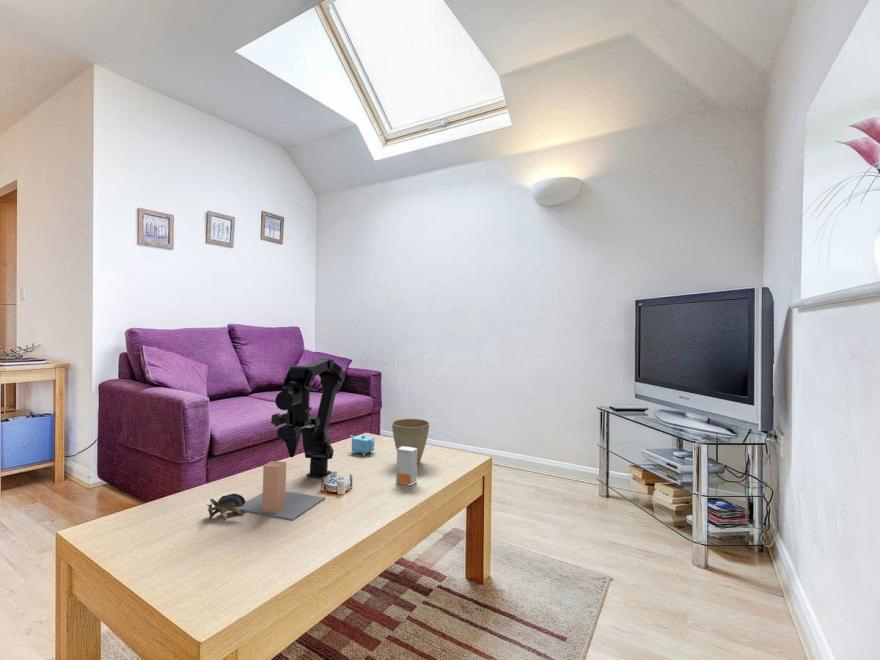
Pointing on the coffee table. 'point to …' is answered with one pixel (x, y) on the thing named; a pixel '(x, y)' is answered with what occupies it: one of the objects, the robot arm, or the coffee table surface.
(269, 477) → the block
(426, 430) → the plant pot
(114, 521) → the coffee table surface
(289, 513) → the mat
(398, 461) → the skincare box
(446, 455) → the coffee table surface
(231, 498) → the grey brown animal figure
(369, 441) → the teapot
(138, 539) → the coffee table surface
